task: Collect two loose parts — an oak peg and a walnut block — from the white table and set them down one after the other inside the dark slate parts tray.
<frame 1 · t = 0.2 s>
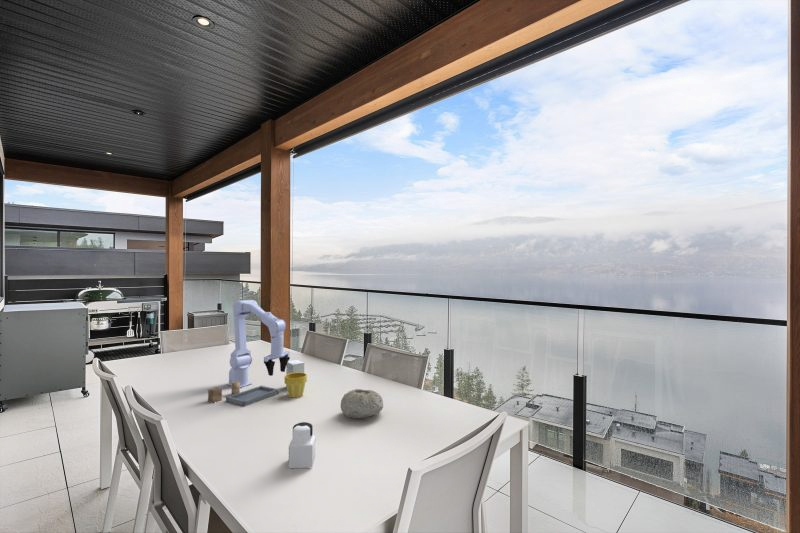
hand: (276, 373, 186), 10 cm above the table, tool pointing down, fingers open, 7 cm apart
oak peg: (235, 394, 185), on the table
small box: (295, 388, 196), on the table
walnut block: (214, 401, 175), on the table
parts tray: (253, 397, 180), on the table
plant pot: (295, 396, 184), on the table
white boxy piece: (302, 463, 121), on the table
round stone vase: (362, 415, 160), on the table
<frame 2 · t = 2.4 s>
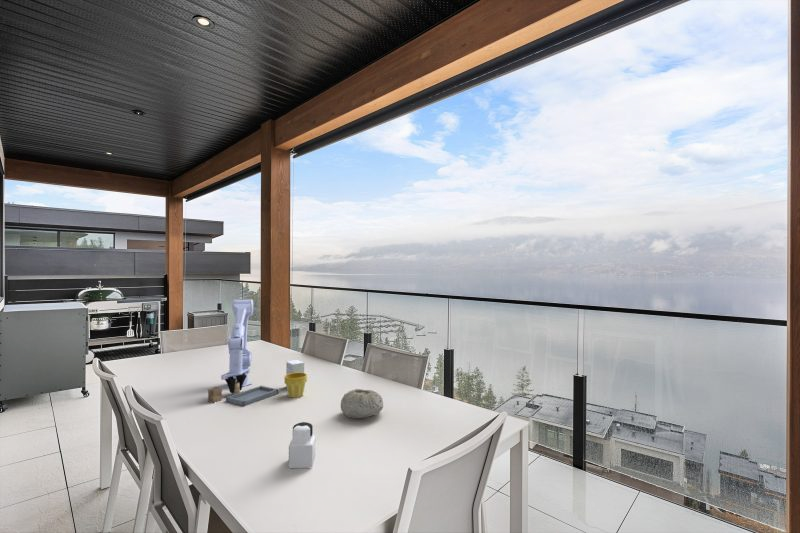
hand: (235, 391, 185), 1 cm above the table, tool pointing down, fingers closed on oak peg, 4 cm apart
oak peg: (235, 394, 185), on the table, touching gripper
everything else where it was.
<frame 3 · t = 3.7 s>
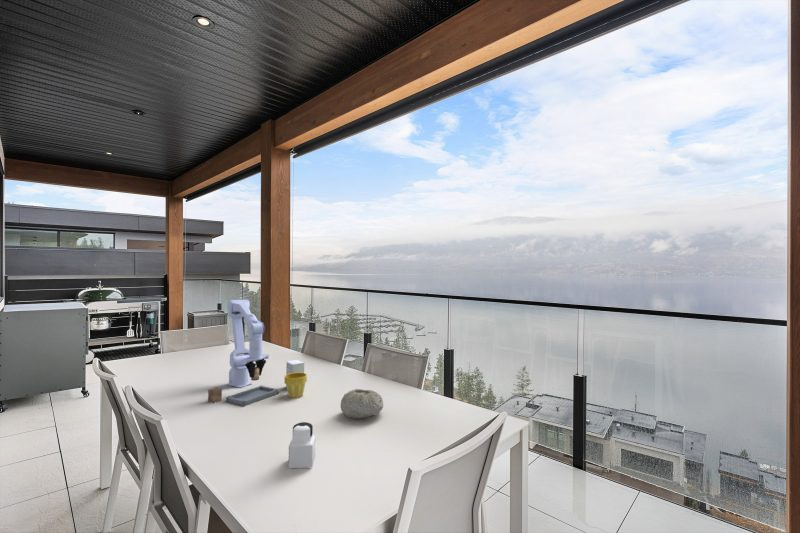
hand: (255, 376, 185), 9 cm above the table, tool pointing down, fingers closed on oak peg, 4 cm apart
oak peg: (255, 379, 185), point 7 cm above the table, touching gripper
everything else where it was.
when the fingers open (3 cm above the table, at t = 5.2 s): oak peg drops 1 cm, resting on parts tray.
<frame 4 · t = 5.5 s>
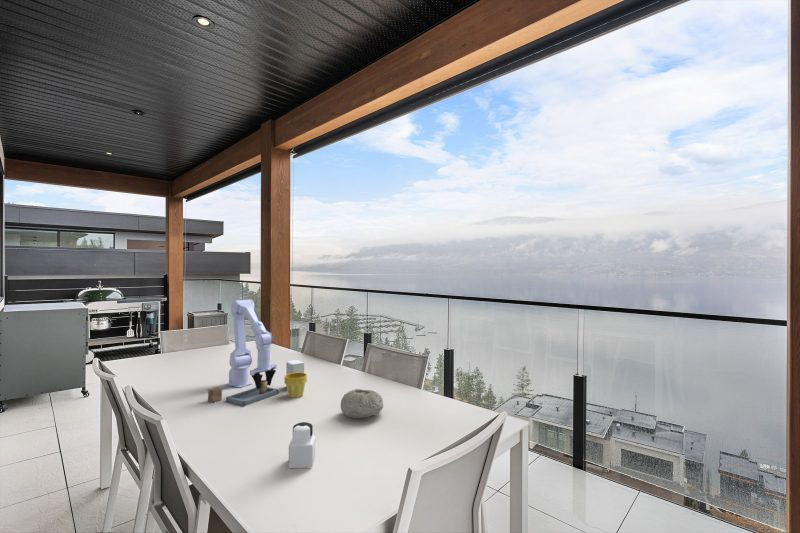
hand: (263, 386, 186), 3 cm above the table, tool pointing down, fingers open, 6 cm apart
oak peg: (263, 392, 186), point 1 cm above the table, touching parts tray
everything else where it was.
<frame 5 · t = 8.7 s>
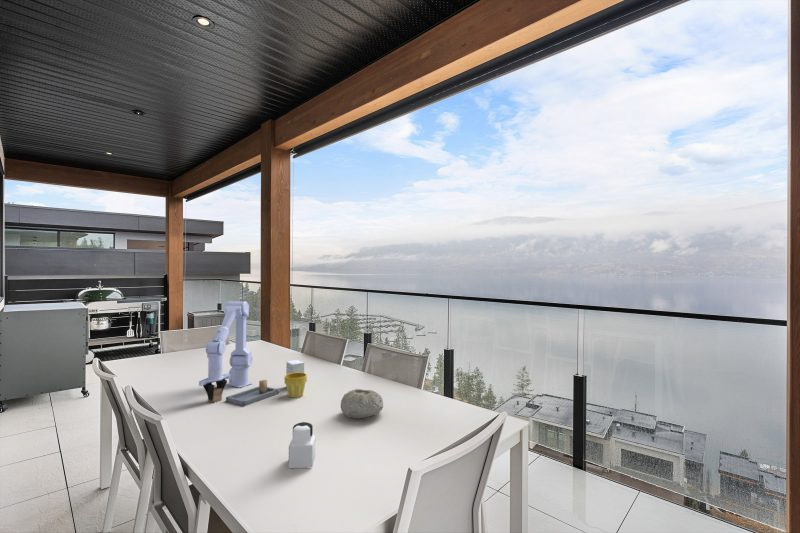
hand: (214, 397, 175), 1 cm above the table, tool pointing down, fingers closed on walnut block, 4 cm apart
walnut block: (214, 400, 175), on the table, touching gripper
everything else where it was.
when the fingers open (3 cm above the table, at t = 11.6 s): walnut block drops 1 cm, resting on parts tray.
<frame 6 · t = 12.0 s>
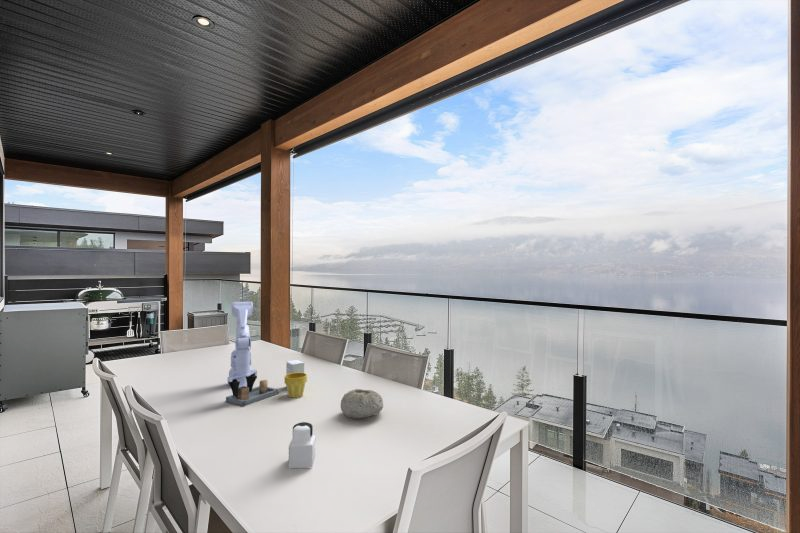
hand: (242, 393, 175), 3 cm above the table, tool pointing down, fingers open, 7 cm apart
walnut block: (242, 399, 175), point 1 cm above the table, touching parts tray
everything else where it was.
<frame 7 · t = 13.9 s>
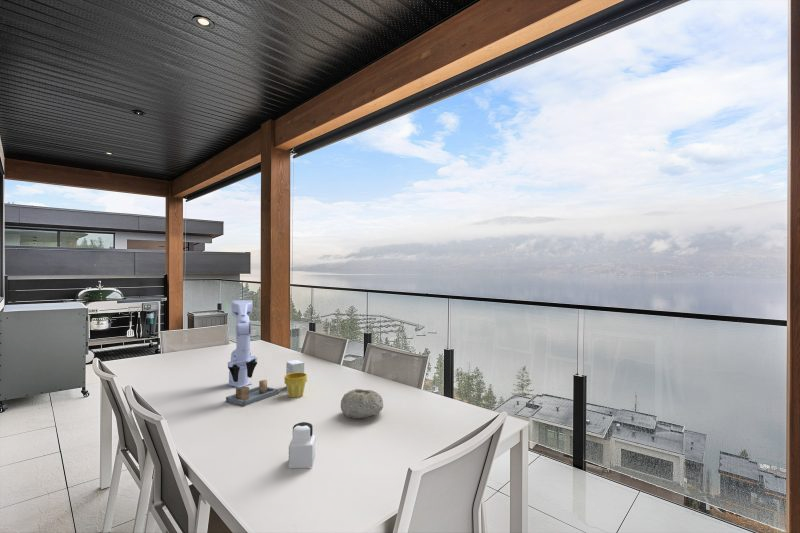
hand: (242, 379, 175), 10 cm above the table, tool pointing down, fingers open, 7 cm apart
nothing on the table moved.
at the end: oak peg inside the target area on the parts tray (6.0 cm from its centre), point 0.6 cm above the parts tray's base; walnut block inside the target area on the parts tray (6.0 cm from its centre), point 0.6 cm above the parts tray's base; oak peg tilted 2° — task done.
